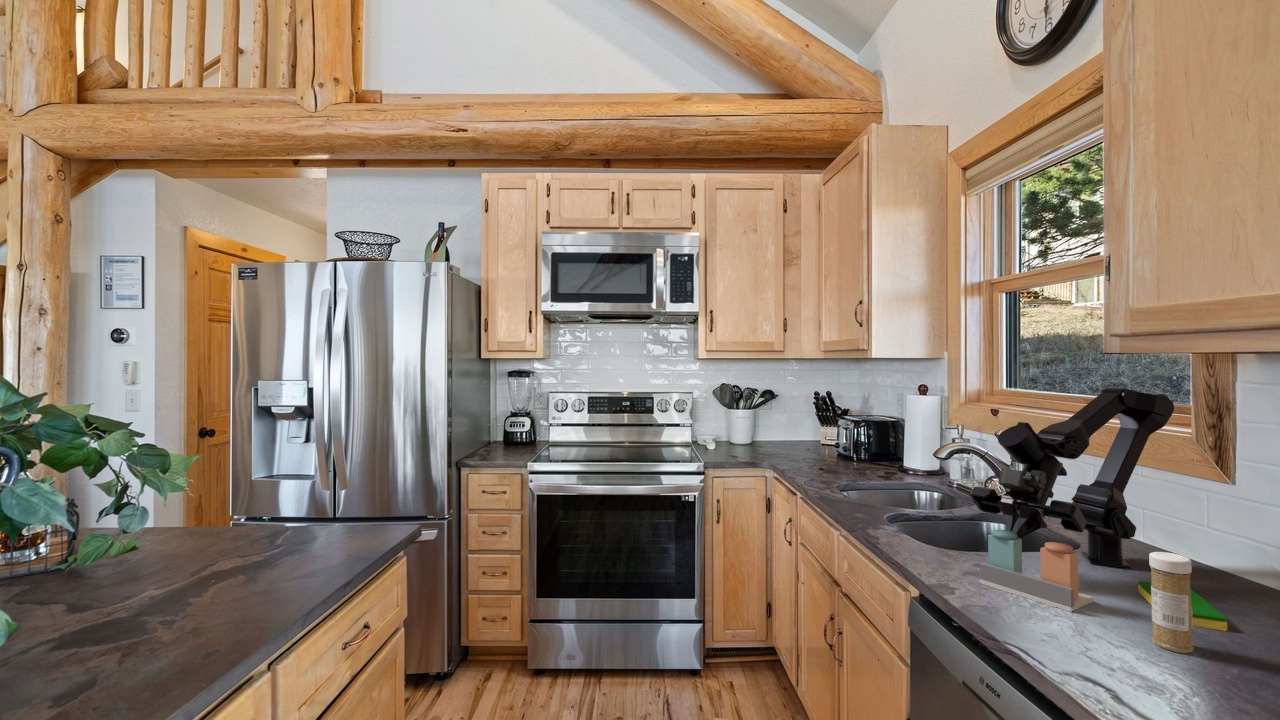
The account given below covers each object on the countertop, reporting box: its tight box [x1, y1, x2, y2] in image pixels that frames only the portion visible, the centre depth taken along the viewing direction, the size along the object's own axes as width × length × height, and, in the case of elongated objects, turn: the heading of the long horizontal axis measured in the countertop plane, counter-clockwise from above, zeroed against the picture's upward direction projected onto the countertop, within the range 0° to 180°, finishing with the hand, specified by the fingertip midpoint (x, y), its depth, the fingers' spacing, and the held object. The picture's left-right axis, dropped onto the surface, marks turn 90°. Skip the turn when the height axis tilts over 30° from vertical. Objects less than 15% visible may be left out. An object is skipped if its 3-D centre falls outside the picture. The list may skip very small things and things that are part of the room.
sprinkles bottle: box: [1148, 551, 1195, 654], centre depth 82 cm, size 5×5×14 cm
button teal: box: [987, 529, 1023, 574], centre depth 106 cm, size 4×4×9 cm
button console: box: [978, 562, 1094, 613], centre depth 102 cm, size 8×15×4 cm, turn 30°
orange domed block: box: [1039, 541, 1080, 600], centre depth 98 cm, size 4×4×9 cm
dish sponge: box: [1137, 580, 1228, 632], centre depth 94 cm, size 7×14×2 cm, turn 153°
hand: (1009, 542), depth 107 cm, fingers closed
